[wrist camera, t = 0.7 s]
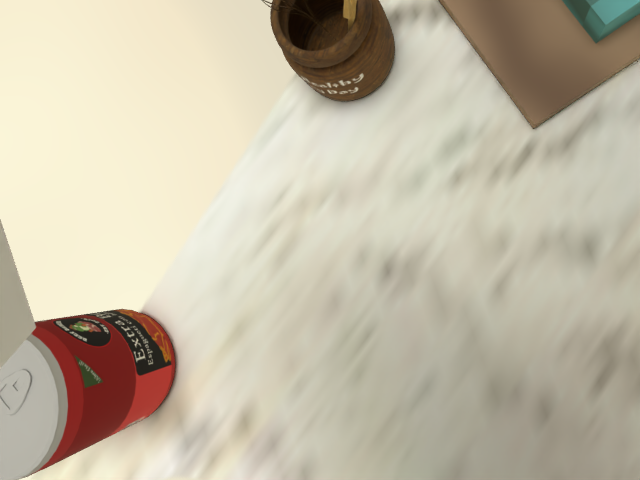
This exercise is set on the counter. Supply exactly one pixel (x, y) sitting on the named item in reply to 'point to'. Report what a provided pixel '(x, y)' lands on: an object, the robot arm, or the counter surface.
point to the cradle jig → (550, 46)
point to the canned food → (79, 386)
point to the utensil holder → (335, 44)
